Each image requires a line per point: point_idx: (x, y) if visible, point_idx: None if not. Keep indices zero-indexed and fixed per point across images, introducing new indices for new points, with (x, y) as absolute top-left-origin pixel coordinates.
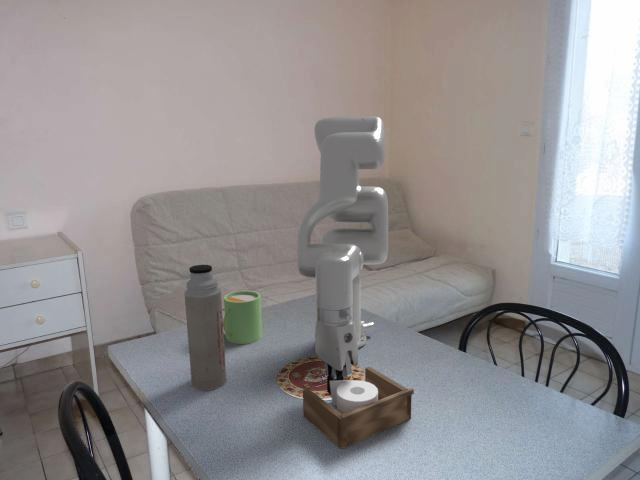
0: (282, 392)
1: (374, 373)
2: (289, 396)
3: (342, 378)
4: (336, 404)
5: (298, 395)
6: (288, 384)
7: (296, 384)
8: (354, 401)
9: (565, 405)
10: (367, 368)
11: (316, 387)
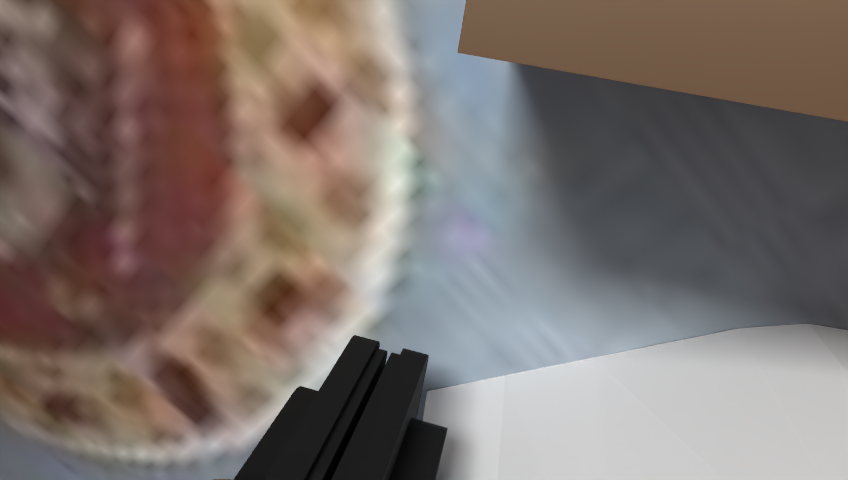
0: (78, 464)
1: (810, 111)
2: (144, 476)
3: (383, 476)
4: (461, 400)
5: (165, 437)
6: (3, 371)
7: (28, 339)
8: None
9: None
10: (515, 37)
11: (139, 279)
